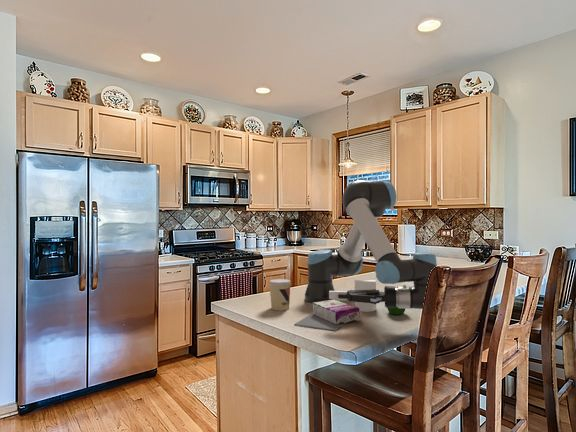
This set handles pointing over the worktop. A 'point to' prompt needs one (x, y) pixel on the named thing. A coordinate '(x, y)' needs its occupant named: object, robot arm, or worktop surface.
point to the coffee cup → (280, 293)
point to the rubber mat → (318, 323)
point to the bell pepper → (396, 310)
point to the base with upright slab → (365, 286)
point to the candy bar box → (336, 311)
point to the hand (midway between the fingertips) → (329, 294)
